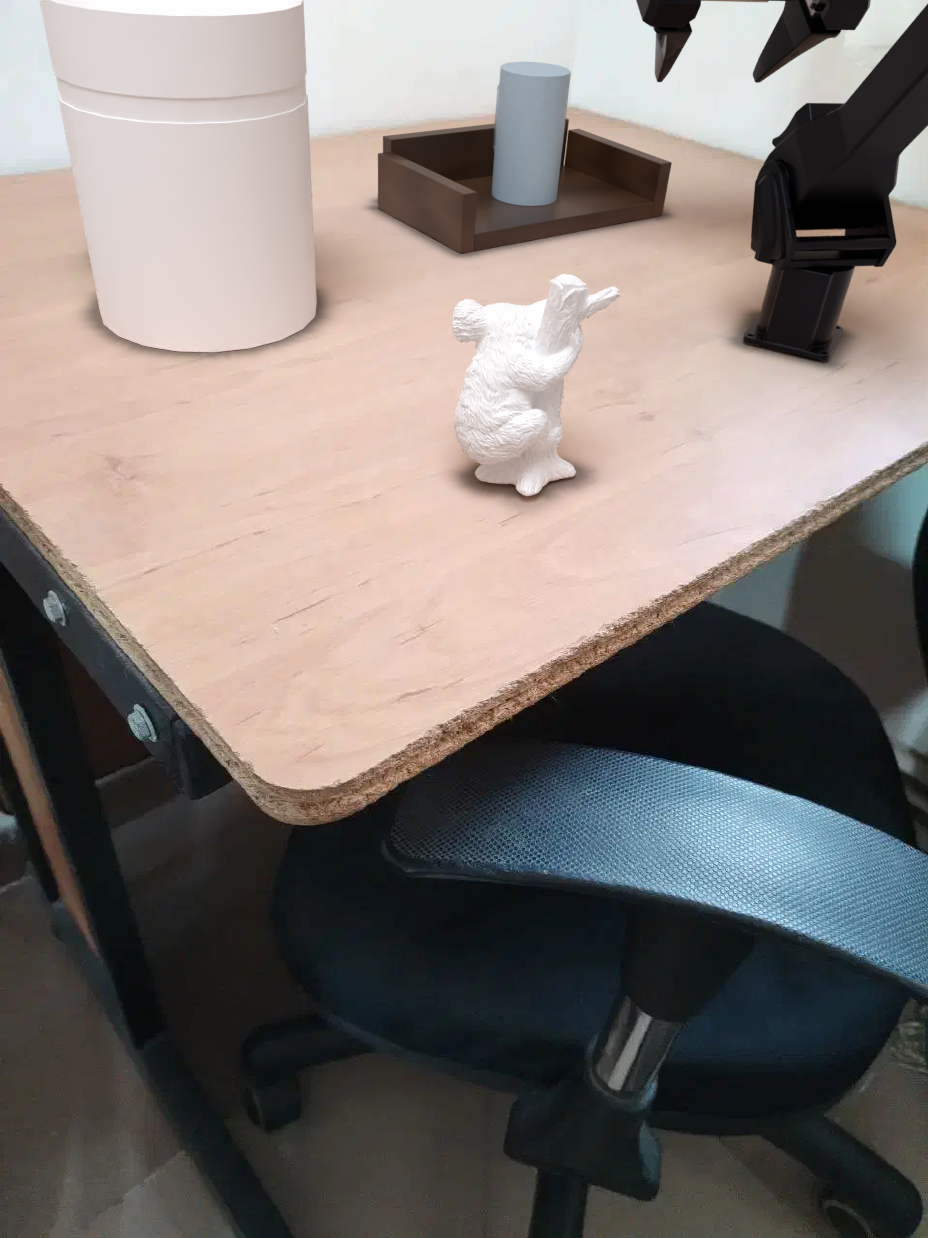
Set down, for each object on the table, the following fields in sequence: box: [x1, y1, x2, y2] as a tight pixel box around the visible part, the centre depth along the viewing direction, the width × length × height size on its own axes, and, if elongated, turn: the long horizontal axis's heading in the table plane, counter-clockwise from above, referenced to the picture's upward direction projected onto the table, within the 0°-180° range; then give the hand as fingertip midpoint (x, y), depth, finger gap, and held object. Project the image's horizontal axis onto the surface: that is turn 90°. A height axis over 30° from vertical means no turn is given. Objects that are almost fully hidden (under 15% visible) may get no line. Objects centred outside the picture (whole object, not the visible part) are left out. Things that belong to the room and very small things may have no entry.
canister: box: [39, 0, 318, 353], centre depth 66 cm, size 16×16×20 cm
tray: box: [377, 117, 673, 254], centre depth 93 cm, size 16×25×6 cm, turn 125°
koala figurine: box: [451, 273, 621, 497], centre depth 52 cm, size 8×7×12 cm
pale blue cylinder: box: [492, 61, 572, 206], centre depth 91 cm, size 8×6×11 cm
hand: (707, 78), depth 82 cm, fingers open, 9 cm apart
